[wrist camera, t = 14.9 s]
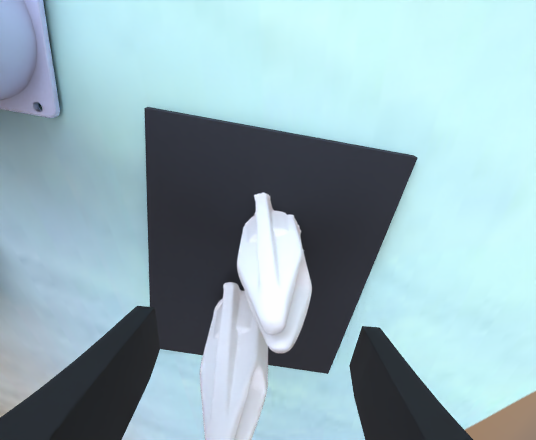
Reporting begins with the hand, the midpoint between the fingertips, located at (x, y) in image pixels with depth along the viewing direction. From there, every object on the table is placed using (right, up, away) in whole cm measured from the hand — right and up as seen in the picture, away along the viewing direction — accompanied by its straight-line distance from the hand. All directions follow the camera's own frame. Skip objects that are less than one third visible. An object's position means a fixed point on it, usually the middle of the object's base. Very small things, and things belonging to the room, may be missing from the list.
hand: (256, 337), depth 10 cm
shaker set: (0, 0, +11) cm, 11 cm away
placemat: (0, +1, +11) cm, 11 cm away
